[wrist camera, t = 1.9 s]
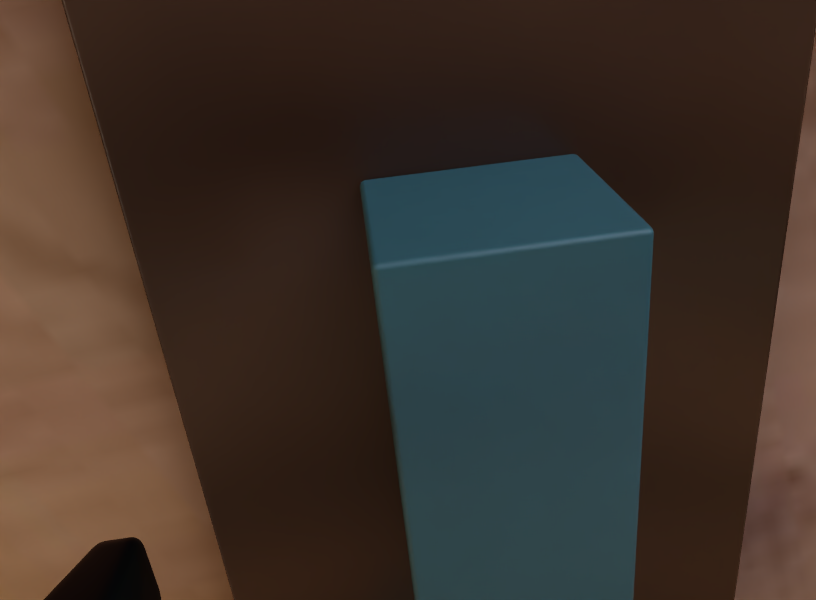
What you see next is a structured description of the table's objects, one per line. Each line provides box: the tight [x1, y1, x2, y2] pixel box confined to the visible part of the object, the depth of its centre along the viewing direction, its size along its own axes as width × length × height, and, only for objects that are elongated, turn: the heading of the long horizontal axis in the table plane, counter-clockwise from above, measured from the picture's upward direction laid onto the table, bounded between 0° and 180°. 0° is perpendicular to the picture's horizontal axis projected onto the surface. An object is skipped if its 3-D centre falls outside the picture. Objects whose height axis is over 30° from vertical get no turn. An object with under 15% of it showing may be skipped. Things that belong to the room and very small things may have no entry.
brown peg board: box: [62, 0, 816, 600], centre depth 12 cm, size 19×10×6 cm, turn 5°
